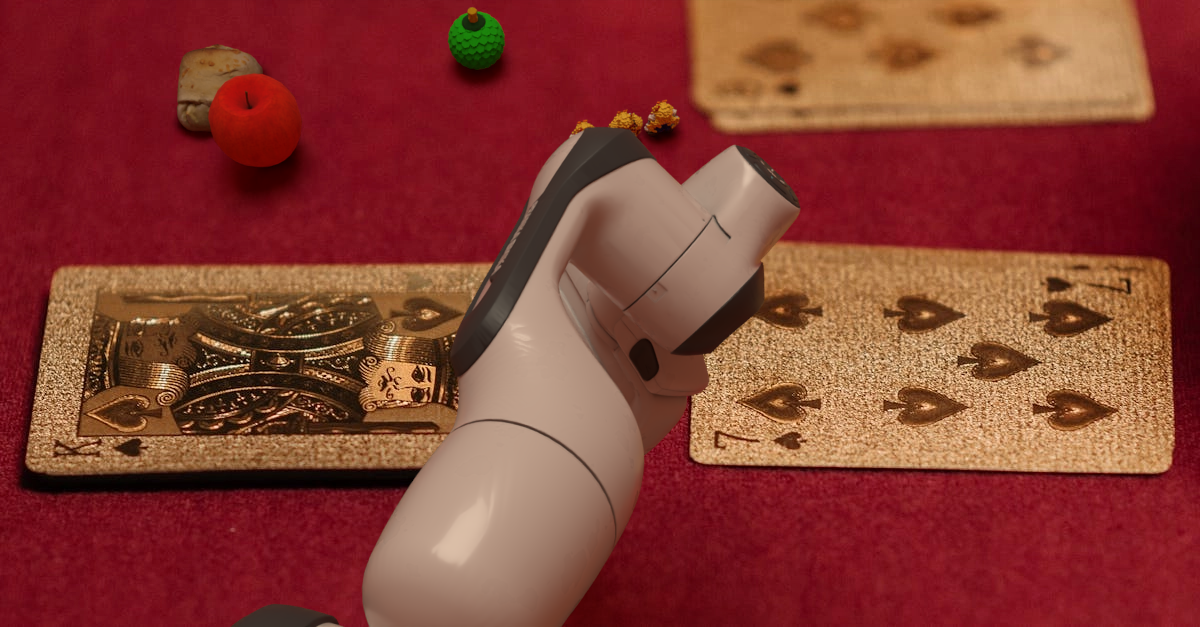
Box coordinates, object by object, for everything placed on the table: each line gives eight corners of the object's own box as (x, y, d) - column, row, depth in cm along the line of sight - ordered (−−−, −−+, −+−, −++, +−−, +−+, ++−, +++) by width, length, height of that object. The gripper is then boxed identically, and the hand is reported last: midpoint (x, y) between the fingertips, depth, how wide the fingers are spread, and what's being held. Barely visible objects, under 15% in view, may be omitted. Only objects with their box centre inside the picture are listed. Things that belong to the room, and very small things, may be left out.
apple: (257, 205, 147) (227, 143, 136) (212, 153, 152) (178, 89, 140) (330, 158, 151) (306, 94, 140) (283, 109, 156) (256, 43, 144)
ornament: (512, 75, 158) (506, 25, 150) (458, 86, 157) (449, 37, 149) (500, 35, 162) (494, -16, 153) (447, 46, 161) (437, -4, 152)
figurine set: (683, 138, 152) (685, 108, 147) (571, 168, 150) (569, 138, 144) (674, 120, 154) (677, 89, 148) (564, 149, 152) (562, 119, 146)
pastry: (244, 50, 161) (227, 11, 154) (287, 101, 156) (272, 62, 149) (158, 97, 157) (137, 58, 150) (200, 150, 152) (180, 113, 145)
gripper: (561, 205, 93) (469, 306, 99) (674, 399, 84) (564, 497, 90) (607, 215, 98) (517, 311, 104) (719, 400, 89) (612, 492, 95)
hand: (540, 399), depth 97 cm, fingers closed on small box, 6 cm apart
